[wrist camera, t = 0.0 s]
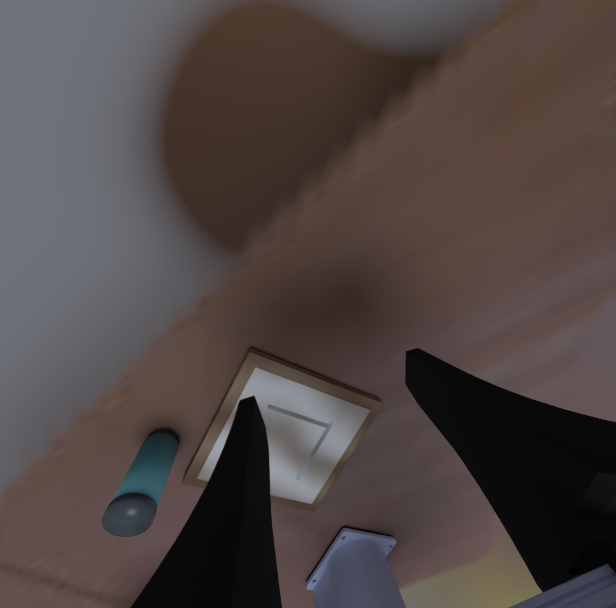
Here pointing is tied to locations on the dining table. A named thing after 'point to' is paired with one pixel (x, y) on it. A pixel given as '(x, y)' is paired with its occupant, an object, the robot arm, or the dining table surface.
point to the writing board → (291, 428)
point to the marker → (142, 487)
